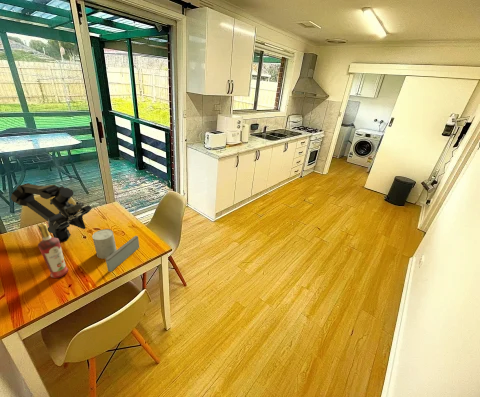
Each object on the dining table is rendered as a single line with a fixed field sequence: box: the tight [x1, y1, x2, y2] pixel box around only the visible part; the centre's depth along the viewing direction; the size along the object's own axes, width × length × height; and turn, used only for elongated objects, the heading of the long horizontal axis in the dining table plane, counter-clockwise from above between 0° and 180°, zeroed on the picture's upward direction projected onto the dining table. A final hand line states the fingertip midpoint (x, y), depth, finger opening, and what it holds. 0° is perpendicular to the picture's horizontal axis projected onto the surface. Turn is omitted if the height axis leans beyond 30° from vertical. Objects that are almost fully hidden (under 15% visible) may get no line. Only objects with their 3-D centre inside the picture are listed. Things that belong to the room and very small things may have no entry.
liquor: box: [37, 223, 69, 279], centre depth 101 cm, size 7×7×28 cm
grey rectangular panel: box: [104, 235, 140, 273], centre depth 118 cm, size 2×21×8 cm, turn 163°
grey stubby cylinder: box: [91, 228, 118, 260], centre depth 120 cm, size 10×10×12 cm
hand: (84, 228), depth 120 cm, fingers closed
